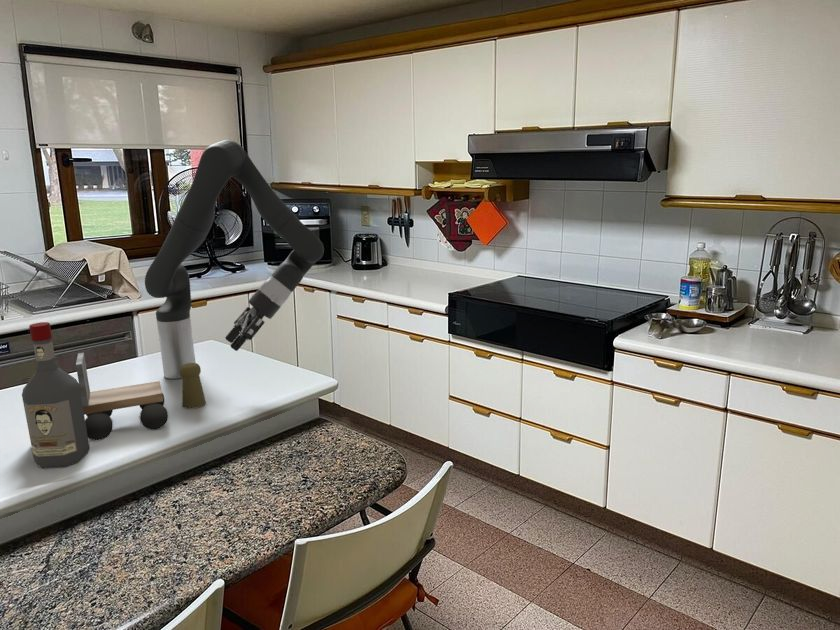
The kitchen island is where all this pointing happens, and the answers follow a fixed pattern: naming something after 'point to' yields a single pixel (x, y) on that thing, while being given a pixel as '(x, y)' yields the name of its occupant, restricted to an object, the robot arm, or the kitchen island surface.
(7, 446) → the kitchen island surface
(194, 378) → the cork
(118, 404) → the trolley
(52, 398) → the liquor
